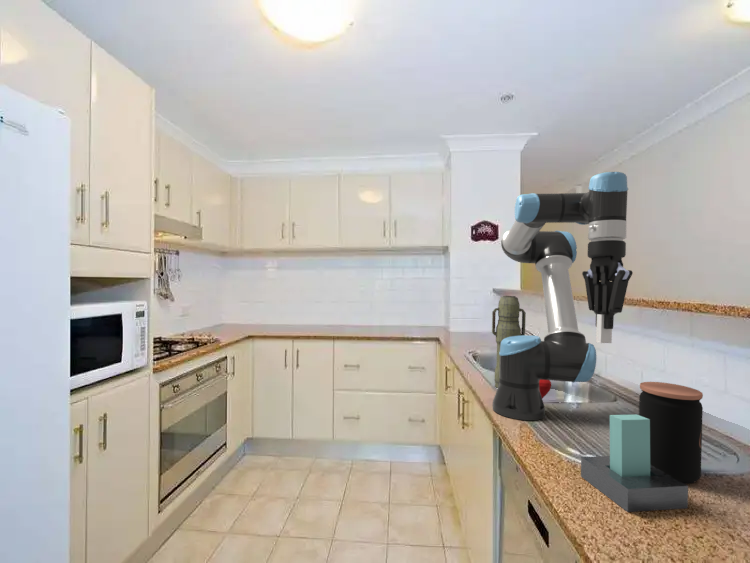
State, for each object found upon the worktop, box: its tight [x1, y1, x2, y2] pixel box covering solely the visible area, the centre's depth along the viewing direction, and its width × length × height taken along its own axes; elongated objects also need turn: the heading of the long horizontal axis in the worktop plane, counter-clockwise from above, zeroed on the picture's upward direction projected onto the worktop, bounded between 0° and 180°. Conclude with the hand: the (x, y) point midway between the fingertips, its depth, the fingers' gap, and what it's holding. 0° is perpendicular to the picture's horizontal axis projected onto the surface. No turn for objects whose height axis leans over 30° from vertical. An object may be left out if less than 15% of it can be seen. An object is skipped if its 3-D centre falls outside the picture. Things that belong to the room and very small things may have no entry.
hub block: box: [580, 455, 689, 513], centre depth 72 cm, size 12×12×4 cm
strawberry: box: [539, 380, 552, 400], centre depth 130 cm, size 6×8×10 cm
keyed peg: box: [609, 414, 650, 477], centre depth 73 cm, size 6×3×14 cm, turn 98°
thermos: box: [491, 295, 527, 389], centre depth 142 cm, size 9×12×35 cm
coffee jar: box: [638, 381, 704, 485], centre depth 80 cm, size 11×11×18 cm
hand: (603, 342), depth 87 cm, fingers closed
